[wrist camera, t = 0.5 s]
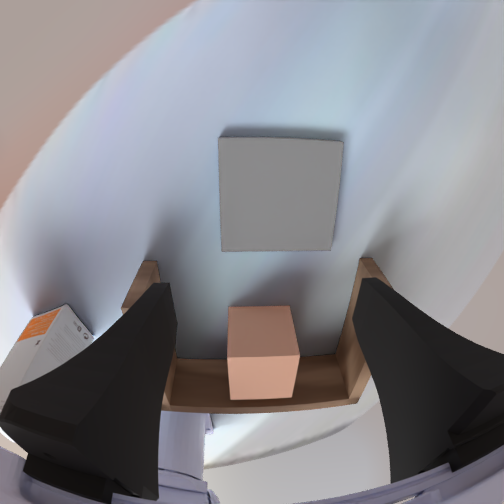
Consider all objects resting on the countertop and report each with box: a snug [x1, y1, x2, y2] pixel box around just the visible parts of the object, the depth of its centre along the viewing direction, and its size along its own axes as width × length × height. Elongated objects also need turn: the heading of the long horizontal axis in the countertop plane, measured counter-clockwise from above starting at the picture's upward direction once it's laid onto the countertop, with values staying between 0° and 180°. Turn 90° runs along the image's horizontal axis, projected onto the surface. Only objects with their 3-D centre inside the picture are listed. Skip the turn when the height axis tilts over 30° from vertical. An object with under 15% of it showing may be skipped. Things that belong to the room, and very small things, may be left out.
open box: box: [121, 258, 394, 414], centre depth 20 cm, size 11×16×5 cm
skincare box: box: [0, 304, 94, 443], centre depth 17 cm, size 6×4×12 cm
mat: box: [218, 137, 344, 252], centre depth 17 cm, size 7×7×1 cm
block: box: [227, 305, 300, 400], centre depth 21 cm, size 5×4×5 cm
